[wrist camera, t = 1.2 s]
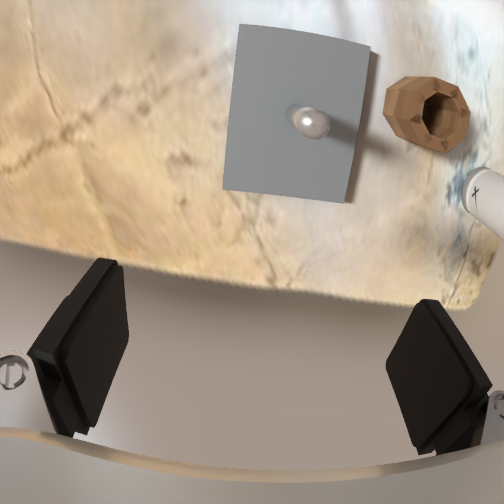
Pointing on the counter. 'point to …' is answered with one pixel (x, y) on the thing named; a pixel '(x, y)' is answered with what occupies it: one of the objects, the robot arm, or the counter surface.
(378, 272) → the counter surface
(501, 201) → the travel mug
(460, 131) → the walnut bead
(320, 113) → the metal rod
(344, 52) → the rod board
